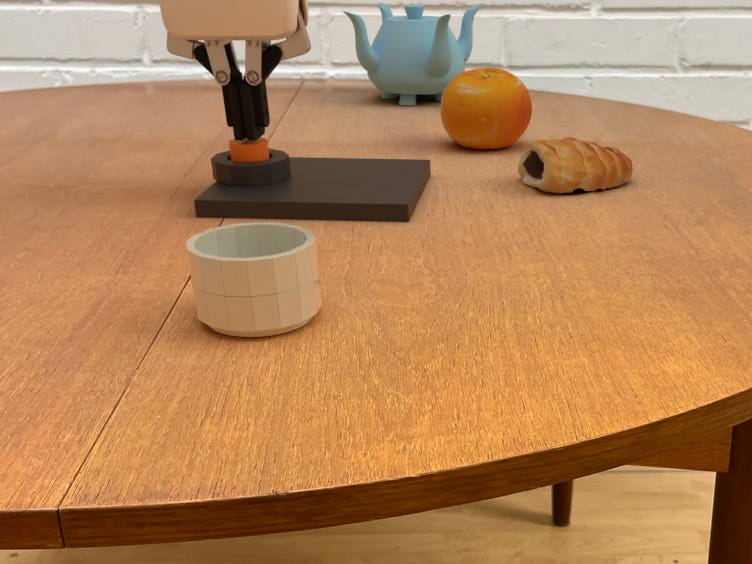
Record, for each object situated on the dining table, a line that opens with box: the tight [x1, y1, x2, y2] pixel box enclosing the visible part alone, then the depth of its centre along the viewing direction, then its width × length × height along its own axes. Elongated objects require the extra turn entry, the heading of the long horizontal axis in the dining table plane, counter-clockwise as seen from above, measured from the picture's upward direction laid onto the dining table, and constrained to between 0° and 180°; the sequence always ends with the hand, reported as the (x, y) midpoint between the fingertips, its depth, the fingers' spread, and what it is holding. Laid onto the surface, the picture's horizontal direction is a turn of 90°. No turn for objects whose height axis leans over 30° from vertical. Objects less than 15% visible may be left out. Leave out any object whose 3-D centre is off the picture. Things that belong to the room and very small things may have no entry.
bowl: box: [184, 221, 322, 338], centre depth 54 cm, size 7×7×4 cm
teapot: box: [342, 2, 484, 106], centre depth 112 cm, size 13×13×10 cm
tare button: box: [228, 136, 270, 162], centre depth 76 cm, size 3×3×2 cm
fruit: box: [440, 67, 533, 151], centre depth 91 cm, size 8×8×8 cm
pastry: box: [517, 136, 634, 195], centre depth 80 cm, size 9×7×4 cm
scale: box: [193, 148, 431, 223], centre depth 77 cm, size 16×14×3 cm
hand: (250, 136), depth 76 cm, fingers closed
